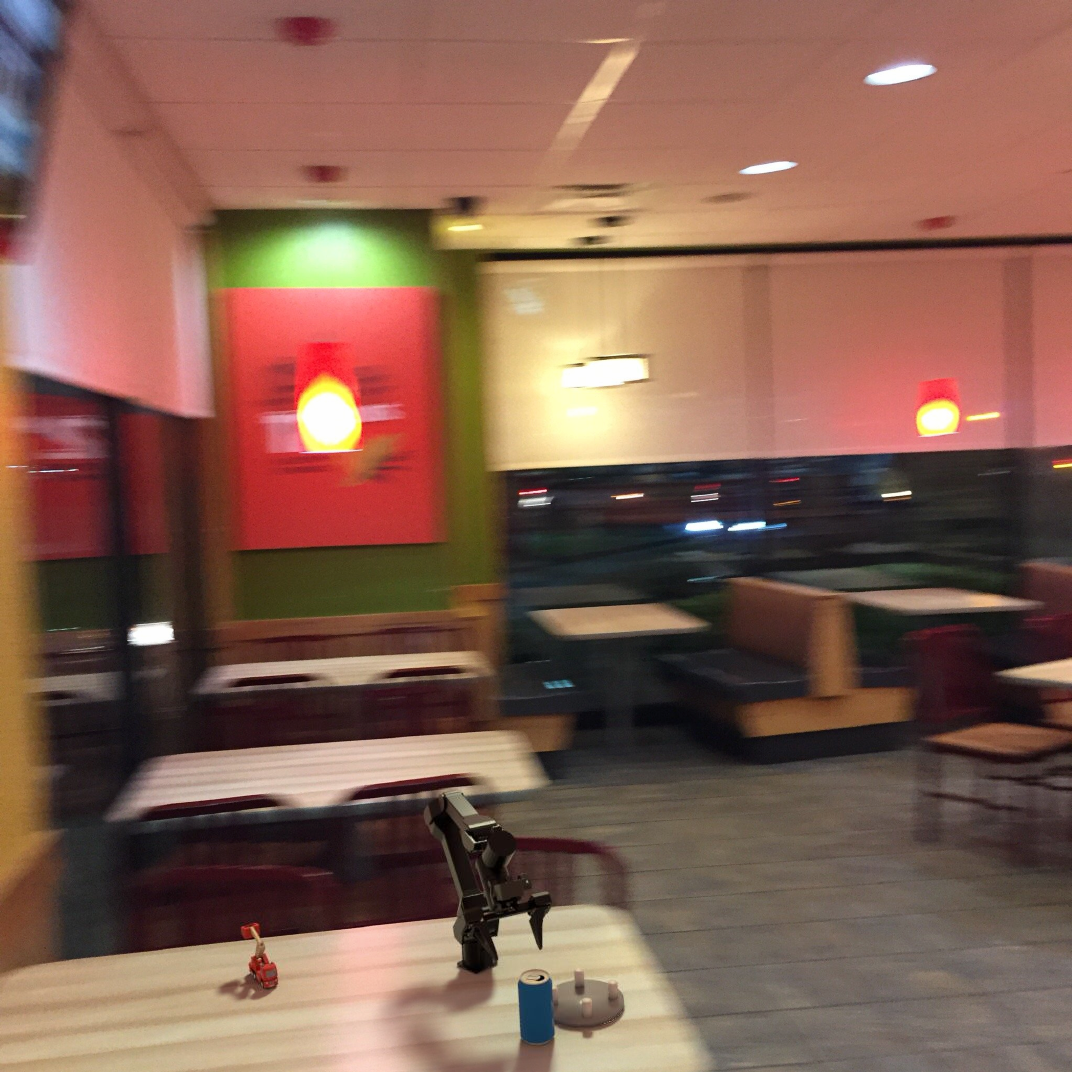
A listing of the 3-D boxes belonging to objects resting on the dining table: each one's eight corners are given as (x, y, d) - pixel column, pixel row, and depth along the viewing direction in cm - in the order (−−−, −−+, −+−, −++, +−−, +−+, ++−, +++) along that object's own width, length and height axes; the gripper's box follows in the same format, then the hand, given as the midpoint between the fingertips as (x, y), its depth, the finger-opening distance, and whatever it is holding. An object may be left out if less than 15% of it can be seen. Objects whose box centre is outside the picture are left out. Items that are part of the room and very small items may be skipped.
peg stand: (526, 1010, 205) (525, 990, 205) (576, 977, 217) (575, 957, 217) (591, 1036, 195) (590, 1015, 194) (640, 1000, 207) (639, 980, 207)
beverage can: (551, 1048, 192) (548, 985, 191) (517, 1046, 193) (513, 984, 192) (557, 1029, 198) (554, 968, 197) (524, 1027, 199) (521, 966, 198)
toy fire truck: (264, 991, 218) (261, 946, 217) (243, 966, 229) (240, 924, 229) (280, 986, 220) (277, 942, 219) (258, 962, 231) (255, 920, 231)
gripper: (459, 870, 201) (482, 949, 192) (547, 851, 208) (574, 926, 199) (448, 895, 209) (470, 972, 199) (534, 876, 216) (559, 949, 207)
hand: (519, 954), depth 201 cm, fingers open, 9 cm apart
